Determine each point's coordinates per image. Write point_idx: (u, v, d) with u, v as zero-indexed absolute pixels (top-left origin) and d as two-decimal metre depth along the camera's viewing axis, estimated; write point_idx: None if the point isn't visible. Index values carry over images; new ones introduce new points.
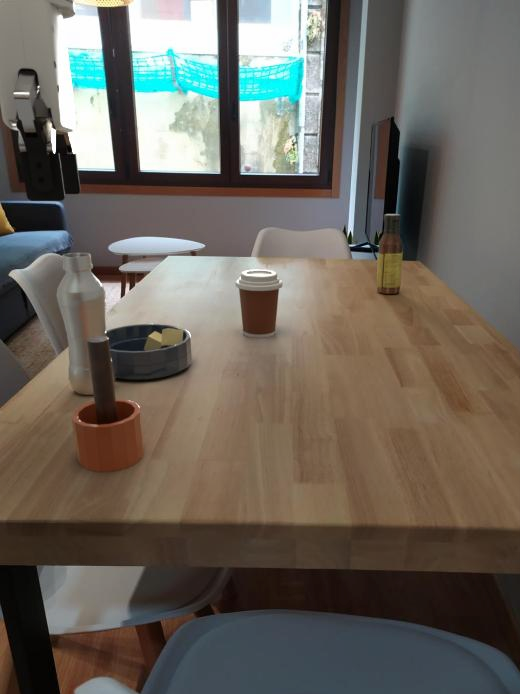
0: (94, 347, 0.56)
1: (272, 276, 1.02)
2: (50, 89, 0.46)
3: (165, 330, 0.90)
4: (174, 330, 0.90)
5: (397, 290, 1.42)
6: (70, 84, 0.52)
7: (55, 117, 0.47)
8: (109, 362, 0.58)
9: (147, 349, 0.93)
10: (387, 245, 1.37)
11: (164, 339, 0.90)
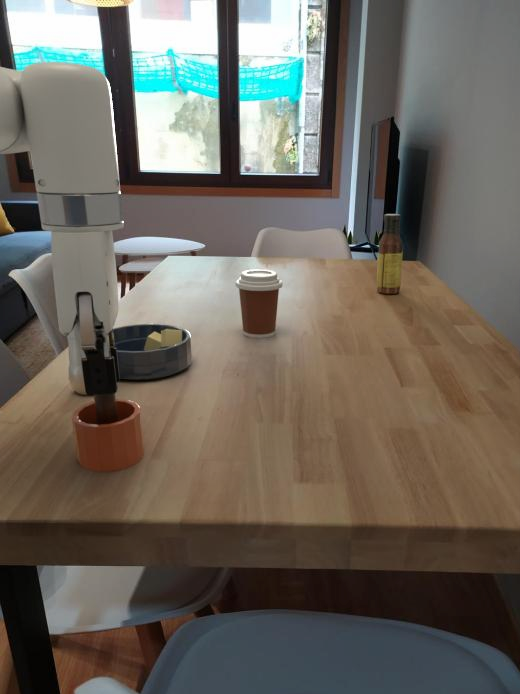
0: None
1: (272, 276, 1.02)
2: (103, 306, 0.51)
3: (164, 331, 0.90)
4: (173, 331, 0.90)
5: (397, 290, 1.42)
6: None
7: (106, 328, 0.52)
8: None
9: (147, 349, 0.93)
10: (387, 245, 1.37)
11: (163, 340, 0.90)
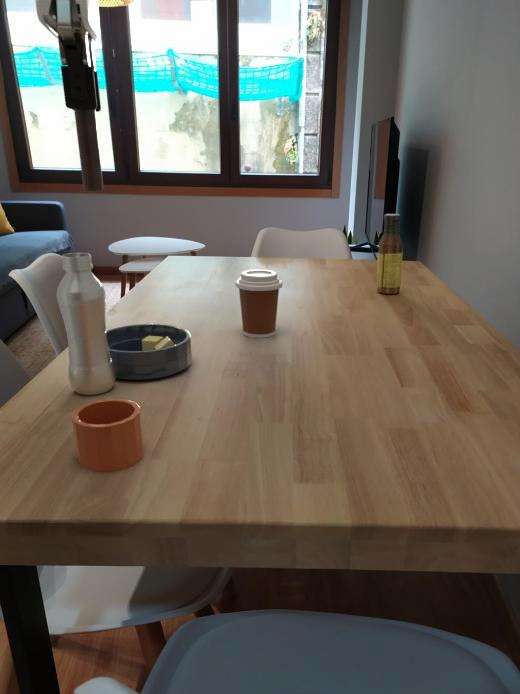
0: None
1: (272, 276, 1.02)
2: None
3: None
4: (164, 346, 0.89)
5: (397, 290, 1.42)
6: None
7: (83, 13, 0.53)
8: None
9: None
10: (387, 245, 1.37)
11: None
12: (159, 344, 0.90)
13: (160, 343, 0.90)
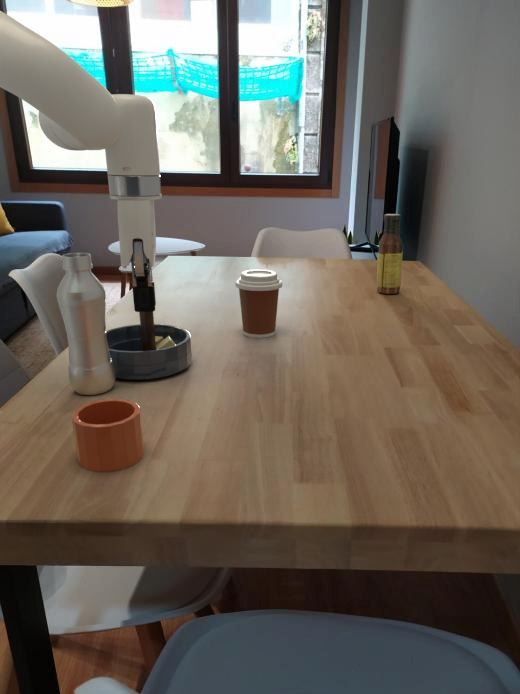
0: None
1: (272, 276, 1.02)
2: (149, 248, 0.80)
3: None
4: (163, 346, 0.89)
5: (397, 290, 1.42)
6: None
7: (151, 263, 0.81)
8: None
9: None
10: (387, 245, 1.37)
11: None
12: (160, 343, 0.90)
13: (161, 343, 0.91)
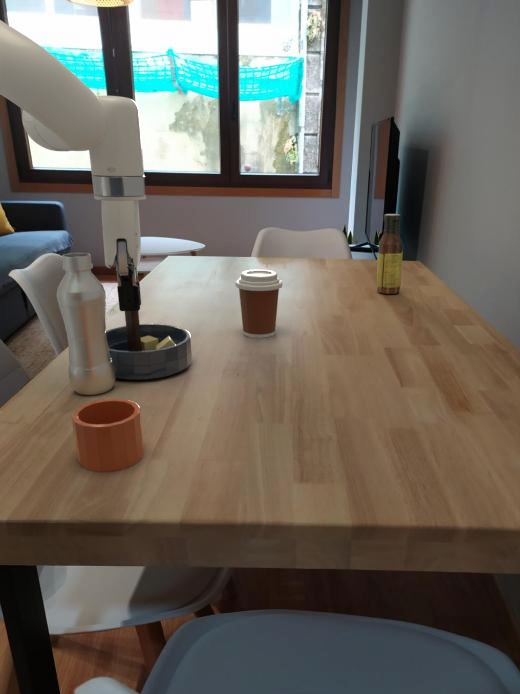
0: None
1: (272, 276, 1.02)
2: (133, 248, 0.81)
3: None
4: (163, 346, 0.89)
5: (397, 290, 1.42)
6: (140, 235, 0.86)
7: (135, 262, 0.82)
8: None
9: None
10: (387, 245, 1.37)
11: None
12: (160, 344, 0.90)
13: (161, 343, 0.91)
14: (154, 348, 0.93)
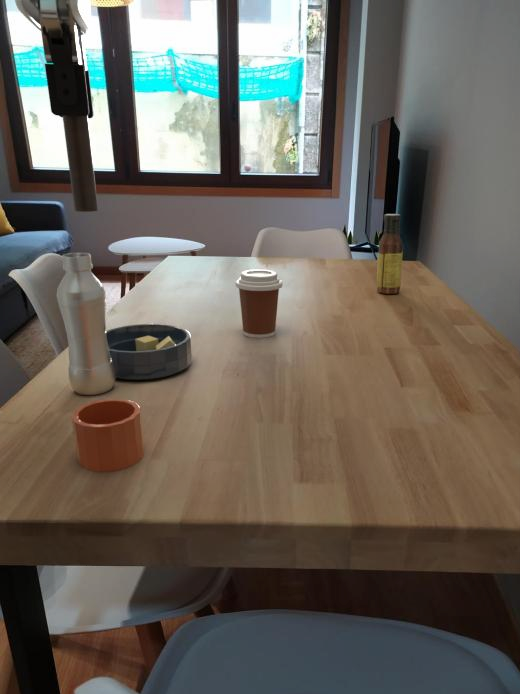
0: None
1: (272, 276, 1.02)
2: None
3: None
4: (163, 346, 0.89)
5: (397, 290, 1.42)
6: None
7: None
8: None
9: None
10: (387, 245, 1.37)
11: None
12: (160, 344, 0.90)
13: (161, 343, 0.90)
14: (154, 348, 0.93)
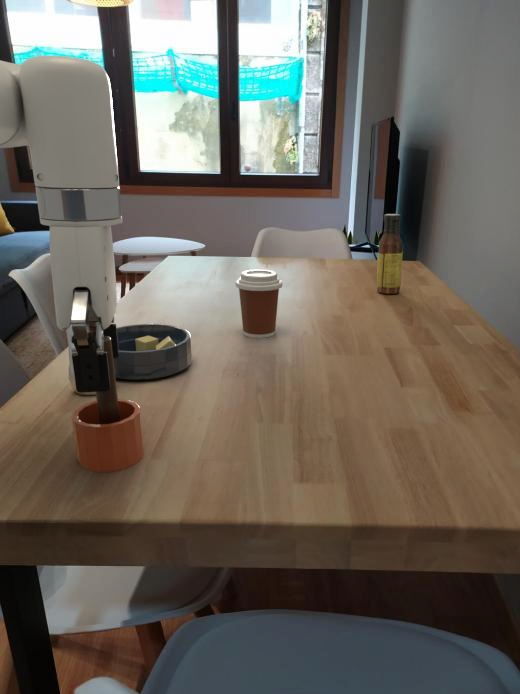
0: None
1: (272, 276, 1.02)
2: (101, 302, 0.51)
3: None
4: (163, 347, 0.89)
5: (397, 290, 1.42)
6: (115, 276, 0.57)
7: (104, 323, 0.52)
8: (111, 362, 0.58)
9: None
10: (387, 245, 1.37)
11: None
12: (160, 344, 0.90)
13: (161, 343, 0.90)
14: (154, 348, 0.93)
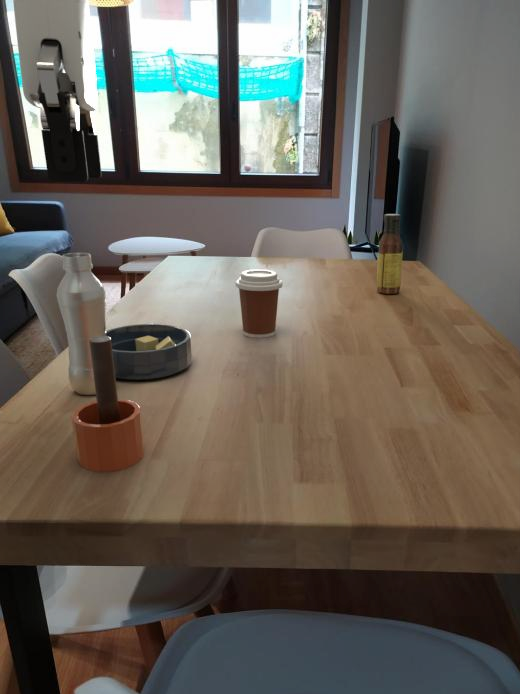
0: (96, 347, 0.56)
1: (272, 276, 1.02)
2: (75, 62, 0.43)
3: None
4: (163, 347, 0.89)
5: (397, 290, 1.42)
6: (93, 59, 0.49)
7: (79, 92, 0.44)
8: (111, 362, 0.58)
9: None
10: (387, 245, 1.37)
11: None
12: (160, 344, 0.90)
13: (161, 343, 0.90)
14: (154, 348, 0.93)
